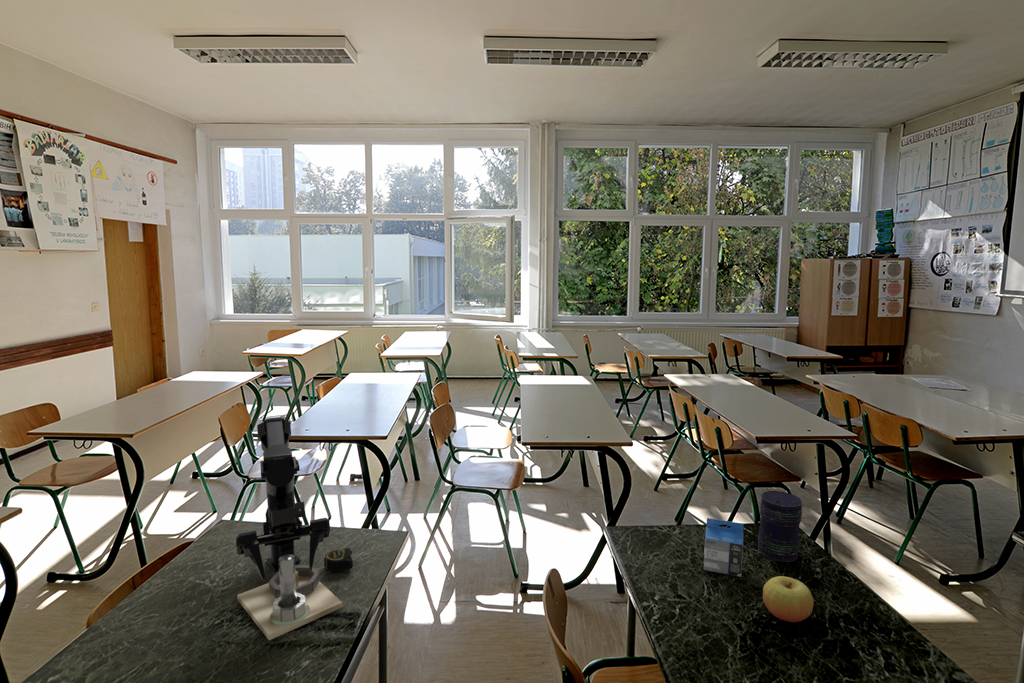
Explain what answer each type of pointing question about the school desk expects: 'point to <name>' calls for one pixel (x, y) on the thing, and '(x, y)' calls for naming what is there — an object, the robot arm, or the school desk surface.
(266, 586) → the gear board
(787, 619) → the apple
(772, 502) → the storage jar
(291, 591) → the gear
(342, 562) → the tape measure
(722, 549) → the label tape box
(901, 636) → the school desk surface
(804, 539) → the school desk surface
